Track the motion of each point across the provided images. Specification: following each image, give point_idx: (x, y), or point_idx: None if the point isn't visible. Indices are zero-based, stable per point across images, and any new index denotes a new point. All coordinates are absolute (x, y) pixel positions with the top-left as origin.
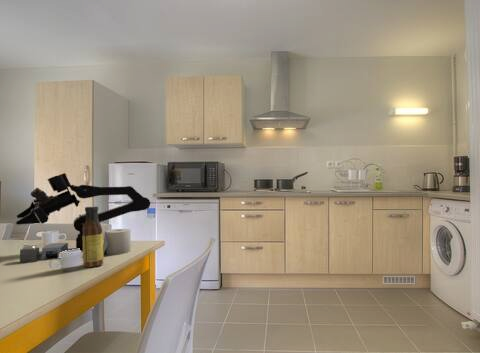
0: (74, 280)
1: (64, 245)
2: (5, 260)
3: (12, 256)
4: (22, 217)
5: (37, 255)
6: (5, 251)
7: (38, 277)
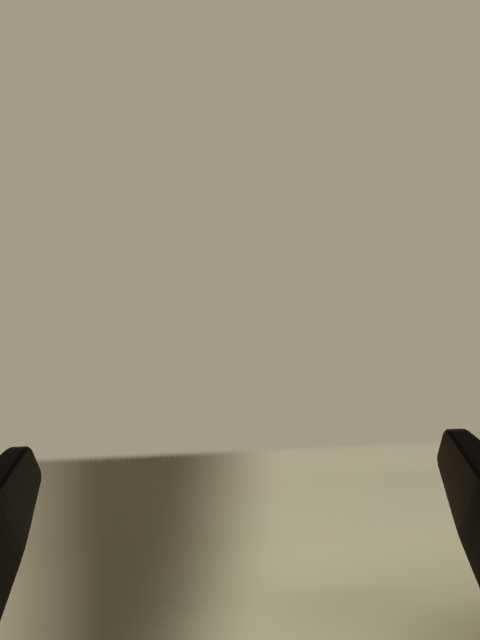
0: None
1: None
2: (59, 466)
3: (181, 505)
4: (457, 531)
5: None
6: (410, 450)
7: None
